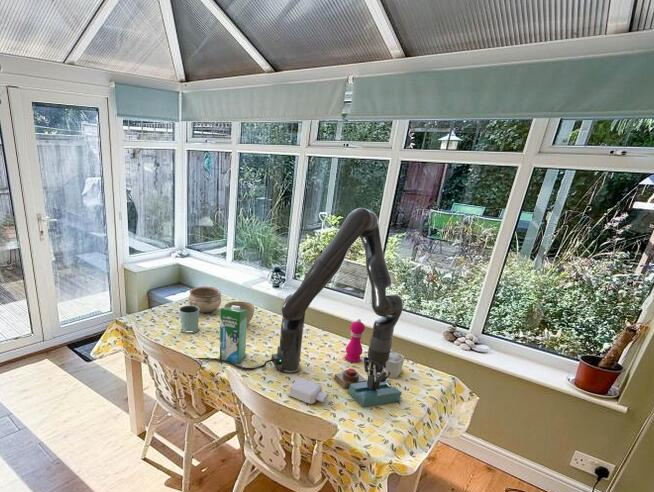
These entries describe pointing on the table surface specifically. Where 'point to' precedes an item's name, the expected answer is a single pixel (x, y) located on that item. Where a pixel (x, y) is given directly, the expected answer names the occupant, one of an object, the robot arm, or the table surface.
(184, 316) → the grey-green cylindrical pot
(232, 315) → the milk carton
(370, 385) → the slider
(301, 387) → the charger
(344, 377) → the panel
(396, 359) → the lumpy-topped squat cylinder
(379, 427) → the table surface
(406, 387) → the table surface
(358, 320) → the pepper mill
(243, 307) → the planter bowl
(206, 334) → the table surface
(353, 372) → the button
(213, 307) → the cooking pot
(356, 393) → the control base
